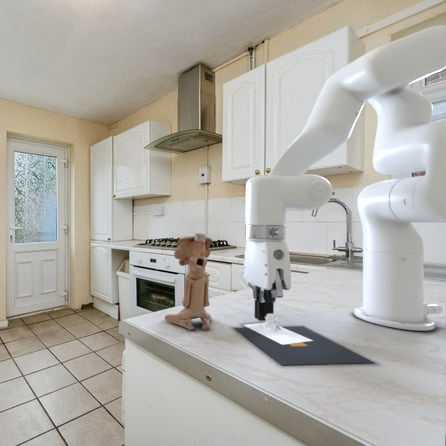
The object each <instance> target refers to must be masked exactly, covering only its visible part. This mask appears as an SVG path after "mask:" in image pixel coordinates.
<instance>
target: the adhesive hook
mask: <svg viewBox="0 0 446 446" xmlns="http://www.w3.org/2000/svg"><path fill="white" fill-rule="evenodd" d="M276 317H277V316H276V315H275V313H274V314H271V313H269V314H267V315H266V317H265V318H266V320H265V321H264V322H262V323H263V324H262V326H263V327H264V328H266V329H270V330H272V331H274V332H282V331H283V329H282V327H283V326H281V325H280V323H277V322H276V321H277V319H276Z"/></svg>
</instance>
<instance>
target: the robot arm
mask: <svg viewBox="0 0 446 446" xmlns="http://www.w3.org/2000/svg"><path fill="white" fill-rule="evenodd" d="M445 69H446V25H434V26H433V25H432V26H429V27H427V28H424V29H421V30H419V31H417V32H414V33H412V34H409V35H406V36H403V37H401V38H398V39H396V40H393V41H390V42H387V43H385V44H382V45H380V46H378V47H375V48H374V49H372V50H370V51H367V52H366V53H365V54H363V55H361V56H360V57H358V58H356V59H354V60H352V61H351V62H350V63H348V64H346V65H345V66H343V67H341V68H340V69H338V70H337V71H335V72H334V73H332V74H331V75H330V76H329V77H328V78H327V79H326V81H325V82H324V84H323V86H322V88H321V90H320V92H319V95H318V97H317V99H316V101H315V103H314V105H313V107H312V109H311V112H310V114H309V116H308V118H307V121H306V123H305V125H304V127H303V129H302V131H301V132H300V133H299V134H298V135H297V136H296V138H294V140H293V141H292V142H291V143H290V144H289V146H288V147H287V148H286V149H285V151H283V153H282V154H280V156H279V157H278V159H277V160H276V161H275V163H274V164H273V166H272V167H271V170H270V171H269V174H264V175H263V174H262V175H257V176H252V177H250V178H249V179H247V180H246V182H245V209H244V211H245V212H244V213H245V214H244V215H245V217H244V218H245V219H244V220H245V221H244V225H245V227H244V237H245V238H244V240H245V248H244V255H243V256H244V257H243V277H244V280H245V281H246V282H247V285H248V287H249V288H250V289H251V290H252V297H253V300H254V319H256V320H258V321H260V322H266V321H265V320H266V318H265V317H266V315H267V314H269V313H271V314H274V315H275V313H274V311H275V310H274V303H276V300H277V298H278V299H282V298H283V297H284V291H289V290H290V289H291V288H292V270H291V269H292V267H291V257H290V250H289V245H288V241H286V222H287V221H286V218H287V216H286V215H287V213H286V212H303V211H313V210H317V209H319V208H322V207H324V206H326V204H328V202H329V201H330V200H331V198H332V196H333V186H332V184H331V183H330V181H329V180H328V179H326V178H325V177H324V176H322V175H319V174H312V173H307V174H306V172H307V171H308V170H310V168H311V167H312V166H313V165H315V164H317V163H318V162H319V161H321V160H322V159H324V158H325V157H327V156H329V155H330V154H331V153H333V152H335V151H336V150H337V149H339V148H340V147H342V145H344V144H346V142H347V141H348V140H349V138H350V137H351V134H352V132H353V129H354V127H355V124H356V123H357V120H358V118H359V116H360V113H361V111H362V110H363V108H364V105H365V104H366V102H368V103H369V104H370V106H372V108H373V109H374V111H375V113H376V116H377V121H376V132H375V138H374V146H373V151H372V166H373V169H374V170H375V171H376V172H377V173H379V174H380V175H384V176H399V175H406V174H412V173H420V172H425V173H424V175H417V176H408V177H399V178H392V179H387V180H382V181H377V182H373V183H371V184H369V185H367V186H366V187H364V188H362V190H361V191H360V193H359V194H358V195H357V200H356V207H357V212H358V214H359V218H360V219H359V220H360V223H361V227H362V228H361V232H362V306H360V307H355V308H354V309H353V315H354V316H355V317H357V318H359V319H360V320H364V321H366V322H368V323H372V324H376V325H379V326H384V327H389V328H393V329H399V330H405V331H406V330H407V331H417V332H422V331H423V332H427V331H433V330H435V328H436V323H435V321H433V320H432V319H430V318H428V315H429V314H432V315H433V314H435V315H438V314H439V315H440V314H442V313H443V307H441V306H440V305H439V304H428V303H426V302H424V298H425V297H424V292H425V291H424V285H425V284H424V283H425V282H424V281H425V279H424V275H425V274H424V271H425V270H424V267H425V266H424V260H425V259H424V258H425V257H424V255H425V254H424V252H425V249H424V247H425V246H424V241H423V238H422V236H421V234H420V233H419V231H418V230H417V229H416V227H414V225H413V224H412V223H446V118H441V119H438V120H434V121H433V120H432V119H433V110H434V109H433V108H434V107H433V104H432V102H431V101H430V99H429V98H428V97H427V96H426V95H424V94H422V93H421V92H420V91H417V90H415V89H413V88H411V87H410V86H409V85H411V84H412V83H415V82H418V81H421V80H422V79H424V78H427V77H429V76H431V75H434V74H436V73H438V72H441V71H443V70H445Z"/></svg>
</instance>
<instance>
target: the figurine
mask: <svg viewBox="0 0 446 446" xmlns="http://www.w3.org/2000/svg"><path fill="white" fill-rule="evenodd" d="M177 243H178V245H179V247H177V248H176V249H175V251H174V253H173V257H174V259H177V260H178V265H180V266H181V267H184V266H187V265H188V267H189V268H188V270H189V271H188V273H186V275H185V279H184V287H183V288H184V289H183V290H184V291H183V299H182V301H181V306H182V307H183V308H182V309H181V310H180V311H178V313H172V314H166V315H165V316H164V320H165V321H166V322H168V323H170V324H175V325H178V326H180V327H182V328H185V329H187V330H189V331H193V330H195V327H194V326H193V324H192V320H196V319H200V321H201V323H202V326H201V329H202V330H204V331H205V330H206V331H210V323H211V321H212V315H211V314H210V313H208V312H207V311H206V309H205V308H206V307H210V302H209V301H210V297H209V283H210V281H209V280H210V279H209V275H208V274H207V272H206V267H207V265H208V258H209V257H210V255H211V249H210V245H212V244H213V240H212V238H211V237H208V236H206V234H205V233H202V232H195V234H194V235H191V236H183V237H180V238H179V239H178V240H177Z"/></svg>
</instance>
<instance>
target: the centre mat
mask: <svg viewBox="0 0 446 446" xmlns="http://www.w3.org/2000/svg"><path fill="white" fill-rule="evenodd" d="M282 327H283V328H285V329H287V330H290V331H292V332H294V333H297V334H299V335H301V336H304V337H306V338H308V339H311V340H313V341H307V342H300V343H292V344H284V345H282V344H280V343H278V342H276V341H274V340H272V339H270V338H268V337H266V336H264V335H262V334H260V333H258V332H256V331H254V330H252V329H250V328H248V327H233V329H234V330H235V331H237V332H238V333H239V334H241V335H242V336H243V337H245V338H246V339H248V341H250V342H251V343H252V344H253V345H255V346H256V347H257V348H259V349H260V350H261V351H263V352H264V353H265V354H267V355H268V356H269V357H270V358H271V359H273V360H274V361H275V362H277V363H278V364H280V365H281V366H309V365H311V366H313V365H348V364H349V365H350V364H351V365H352V364H375V362H374V361H372V360H370V359H369V358H367V357H364V356H362V355H361V354H358V353H356V352H355V351H353V350H351V349H349V348H347V347H344V346H343V345H341V344H338V343H337V342H335V341H333V340H331V339H330V338H327V337H325V336H324V335H321V334H319V333H317V332H315V331H313V330H311V329H309V328H307V327H306V326H303V325H302V326H282Z"/></svg>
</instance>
